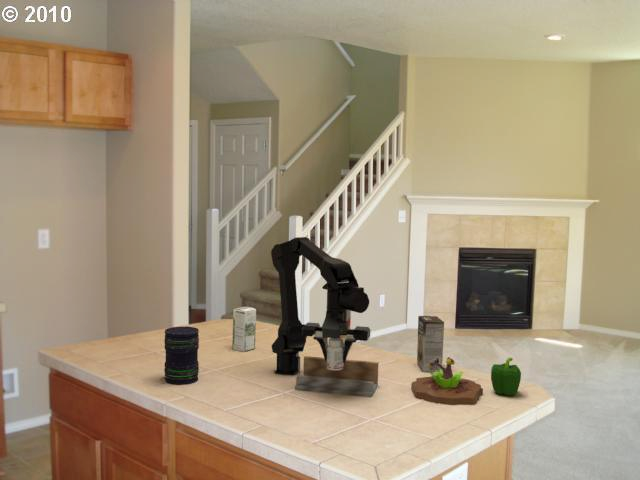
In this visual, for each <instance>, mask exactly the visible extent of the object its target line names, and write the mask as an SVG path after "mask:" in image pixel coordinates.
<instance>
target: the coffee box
mask: <svg viewBox="0 0 640 480" xmlns="http://www.w3.org/2000/svg"><path fill="white" fill-rule="evenodd" d="M444 335H445V321H444V320H442V319H441V318H439V317H438V316H437V315H418V321H417V349H416V350H417V351H416V354H417V355H416V356H417V357H416V364H417V366H418V367H419V369H421V371H422V372H423V373H427V372H428V373H436V372H435V371H438V372H439V373H440V370H441V368H440V367H439V366H438V365H435V364H434V365H433V367H432V368H430V367H429V366H428V364H429V363H431V362H435V363H438V364H440V365H442V366H443V357H444V356H443V355H444V337H445V336H444Z"/></svg>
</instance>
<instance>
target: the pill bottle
mask: <svg viewBox="0 0 640 480" xmlns="http://www.w3.org/2000/svg"><path fill="white" fill-rule="evenodd" d="M342 345H343V339H341V338H338V339H334V338H328V347H327V369H329V370H335V371H337V370H342V369H343V367H344V363H343V355H344V347H343V346H342Z"/></svg>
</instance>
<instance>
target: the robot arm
mask: <svg viewBox="0 0 640 480" xmlns="http://www.w3.org/2000/svg"><path fill="white" fill-rule="evenodd" d="M270 251H271V252H270V256H271V260H272V265H273V267H274V268H275V270H276V271H277V272H278V280H279V282H278V283H279V291H280V292H279V293H280V307H281V317H282V318H281V322H280V323H279V327H278V329H277V338H276V339H275V340H274V342H273V343H272V345H271V351H272V353H274V354H276V370H274V373H275V374H280V375H282V374H283V375H293V376H295V375H297V373H298V372H299V371H300V370H301V356H300V355H299V354H300V353H301V352H304V349H305V345H306V343H307V338H308V337H312V338H313V340H314V341H315V340H316V341H317V342H318V345H319V346H320V348H321V351H322V355H323V358H325V361H327V347H328V345H329V339H330V338H334V339H338V338H340V335H346V336H347V339H346V340H345V348H344V355H343V363H345V361H346V360H347V358H348V355H349V353H350V350H351V348H352V345H353V344H354V343H356V342H357V341H361V342H367V341H368V340H369V339H370V338H371V328H370V327H369V326H360V325H356V327H355V328H354V329H353V328H350V329H348V322H347V310H350V311H351V312H354V313H359V314H363V313H364V312H366V311H367V309H369V306H370V299H369V296H368V294H367V293H366V292H365V289H364V287H359V286H360V285H359V283H358V280H357V278H356V276H355V273H354V271H353V269H352V265H351V264H350V263H349V262H347V261H345V260H343V259H341V258H338V257H337V258H336V257H333V256H332V255H331V256H330V255H329V254H328V253H327V252H325V250H323V249H322V248H320V247H319V246H318V245H316V244H315V243H314V242H312V241H311V239H310V238H309V237H307V236H300V237H299V236H298V237H297V236H295V237H294V238H291V239H290V240H288V241H287V240H286V241H285V242H282V243H276V244H275V245H274V246H273V247H272V248H271V250H270ZM301 256H303V258H305V259H306V260H308V261H309V262H310V263H311V264H312V265H313V266H315V267H316V268H317V269H319V271H320V273H319V274H320V276H321V277H322V278H323V279H324V281H325V282H326V283H325V284H324V285H322V289H323V290H327V291H326V311H325V317H324V321H323V322H322V326H321V325H320V323H318V322H309V321H308V322H306V323H304V324H303V323H302V321H300V319H299V318H300V317H299V310H298V309H299V307H298V294H297V293H298V292H297V282H296V281H297V280H296V271H297V269H298V267H299V264H300V257H301Z"/></svg>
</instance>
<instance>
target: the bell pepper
mask: <svg viewBox="0 0 640 480" xmlns="http://www.w3.org/2000/svg"><path fill="white" fill-rule="evenodd" d="M513 360H514V359H513V358H512V357H509V358H507V359H506V361H505V363H501V364H496V363H495V364H493V365H492V367H491V371H490V380H491V386H492V389H493V391H494V393H496V394H498V395H506V396H509V397H511V396H516V394H517V393H518V390H519V387H520V384H521V381H522V380H521V379H522V372H521V369H520V368H519V367H518V365H517V364H511V365H510V363H511V362H512V361H513Z"/></svg>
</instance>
